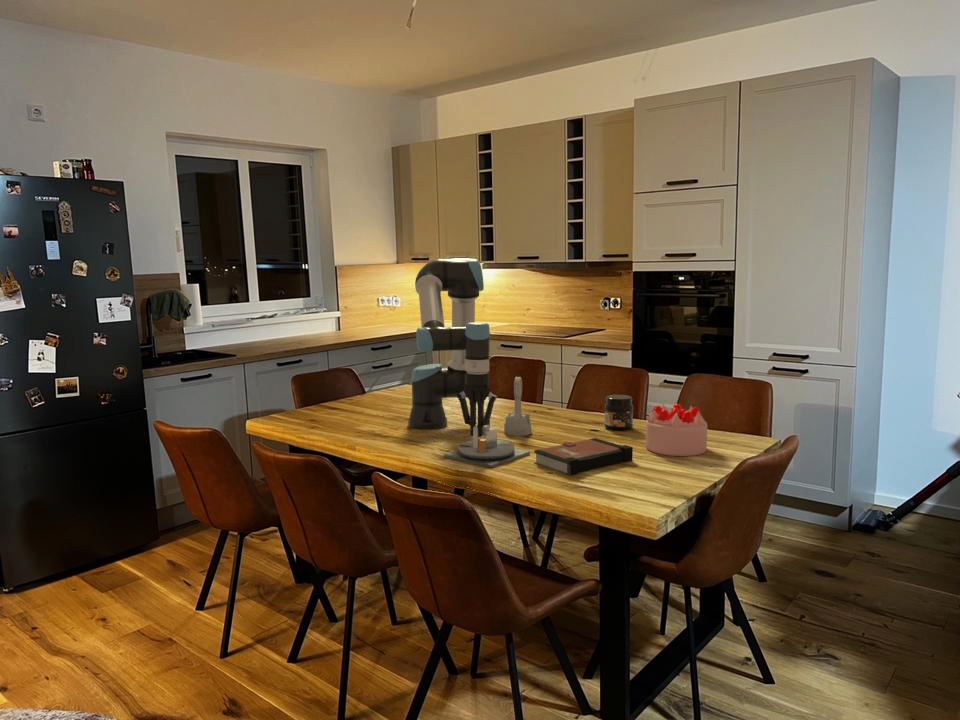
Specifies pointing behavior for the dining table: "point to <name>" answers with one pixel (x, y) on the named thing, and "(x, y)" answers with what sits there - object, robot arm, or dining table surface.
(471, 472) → the dining table surface
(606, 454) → the book
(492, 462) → the base plate
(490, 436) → the cover
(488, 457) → the turntable
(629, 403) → the supplement container
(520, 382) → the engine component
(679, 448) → the cake
